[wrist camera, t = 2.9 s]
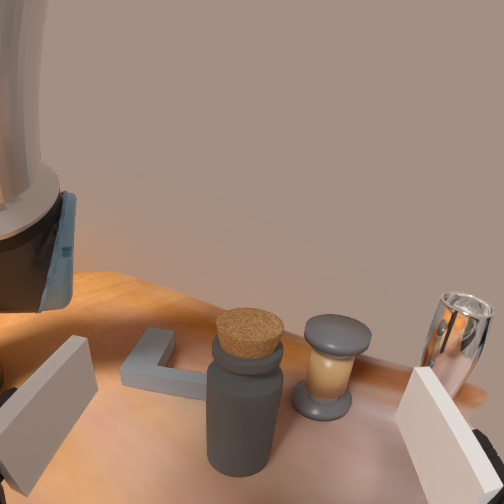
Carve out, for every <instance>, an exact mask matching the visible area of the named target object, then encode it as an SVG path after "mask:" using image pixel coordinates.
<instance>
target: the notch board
mask: <svg viewBox="0 0 504 504" xmlns="http://www.w3.org/2000/svg"><path fill="white" fill-rule="evenodd" d="M175 346H176V344H175V331H174V330H167V329H161V328H154V327H148V328H147V329H146V330H145V332H144V333H143V335H142V336H141V338H140V339H139V341H138V342H137V344H136V345H135V346H134V348H133V349H132V351H131V352H130V354H129V355H128V357H127V358H126V360H125V361H124V363H123V364H122V366H121V367H120V375H121V380H122V385H125V386H129V387H134V388H138V389H143V390H148V391H153V392H158V393H163V394H169V395H174V396H180V397H186V398H193V399H199V400H206V385H207V373H201V372H194V371H187V370H181V369H175V368H169V367H165V366H166V364H167V362H168V360H169V358H170V356H171V354H172V352H173V350H174V348H175Z"/></svg>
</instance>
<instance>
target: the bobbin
mask: <svg viewBox="0 0 504 504" xmlns="http://www.w3.org/2000/svg"><path fill="white" fill-rule="evenodd" d="M304 337H305V339H306V341H307V342H308V343H309V344H310V345H311V346H312V351H311V356H310V360H309V365H308V370H307V374H306V379H305V380H302V381H300V382H299V383H298V384H297V385H296V386H295V387H294V390H293V395H292V403H293V406H294V408H295V409H296V410H297V411H298V412H299V413H300V414H302V415H303V416H305V417H307V418H309V419H312V420H316V421H333V420H336V419H339V418H341V417H343V416H344V415H345V414H346V413H347V412H348V410H349V407H350V404H351V400H352V398H351V394H350V392H349V390H348V389H347V388H346V387H347V383H348V380H349V377H350V373H351V370H352V367H353V363H354V360H355V356H356V355H358V354H361V353H363V352H364V351H366V350H367V349H368V347H369V344H370V340H371V331H370V330H369V328H368V327H366V326H365V325H364V324H363V323H361V322H360V321H358V320H355V319H353V318H350V317H346V316H342V315H334V314H325V315H318V316H315V317H312V318H310V319H309V320H308V321H307V323H306V327H305V332H304Z"/></svg>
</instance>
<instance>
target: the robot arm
mask: <svg viewBox="0 0 504 504" xmlns="http://www.w3.org/2000/svg"><path fill="white" fill-rule="evenodd" d="M47 6H48V0H0V313H41V312H42V311H48V310H57V309H62V308H65V307H66V306H67V305H68V304H69V303H70V301H71V299H72V295H73V249H74V229H75V213H76V201H77V198H76V196H75V194H73V193H68V192H67V191H63V192H61V193H60V187H59V180H58V175H57V174H56V172H55V170H54V169H53V168H52V167H51V166H49V165H48V164H46V163H44V162H43V161H41V152H40V130H39V87H40V67H41V54H42V43H43V34H44V26H45V19H46V12H47ZM2 381H3V372H2V369H1V366H0V388H1V385H2ZM97 391H98V386H97V382H96V378H95V373H94V369H93V364H92V359H91V354H90V349H89V343H88V338H85V337H80V336H76V335H72V336H71V337H70V338H69V339H68V340H67V341H66V342H65V343H63V344H62V345H61V346H60V347H59V348H58V349H57V350H56V351H55V352H54V353H53V354H52V355H51V356H50V357H49V358H48V359H47V360H46V361H45V362H44V363H43V364H42V365H41V366H40V367H39V368H38V369H37V370H36V371H35V372H34V373H33V374H32V375H31V376H30V377H29V378H28V379H27V380H26V381H25V382H24V383H23V384H22V385H21V386H20V388H19V389H17V388H15V387H13V388H11V389H9V390H7V391H6V392H4V393H2V394H1V395H0V504H6V500H5V495H4V490H3V487H2V485H1V482H2V481H3V479H5V481H6V482H7V483H8V485H9V486H10V487H11V488H12V489H13V490H15V491H17V492H19V493H20V494H22V495H24V496H26V497H28V496H29V494H30V492H31V491H32V489H33V488H34V486H35V484H36V483H37V481H38V480H39V478H40V476H41V475H42V473H43V472H44V470H45V469H46V467H47V465H48V464H49V462H50V461H51V459H52V458H53V456H54V455H55V453H56V452H57V450H58V449H59V447H60V445H61V444H62V442H63V441H64V439H65V438H66V436H67V435H68V433H69V432H70V430H71V429H72V427H73V426H74V424H75V423H76V422H77V420H78V419H79V417H80V416H81V414H82V413H83V411H84V410H85V408H86V407H87V405H88V404H89V402H90V401H91V400H92V398H93V397H94V395H95V394H96V392H97ZM394 418H395V420H396V422H397V425H398V427H399V429H400V432H401V434H402V437H403V439H404V442H405V444H406V447H407V449H408V452H409V454H410V457H411V459H412V462H413V464H414V467H415V470H416V472H417V475H418V477H419V480H420V483H421V485H422V488H423V491H424V493H425V496H426V499H427V502H428V504H504V464H503V462H502V461H501V459H500V457H499V456H497V452H496V451H495V449H493V446H492V444H491V443H490V441H489V440H488V438H487V437H486V436H485V435H484V434H483V433H482V432H480V431H479V430H478V429H475V430H471V429H470V427H469V426H468V424H467V422H466V421H465V419H464V418H463V416H462V415H461V413H460V411H459V410H458V408H457V407H456V405H455V404H454V402H453V401H452V399H451V398H450V396H449V394H448V393H447V391H446V390H445V388H444V387H443V385H442V384H441V382H440V381H439V380H438V378H437V377H436V375H435V374H434V372H433V371H432V369H431V368H430V367H414V369H413V372H412V375H411V377H410V380H409V383H408V385H407V388H406V390H405V393H404V395H403V398H402V400H401V402H400V405H399V407H398V409H397V412H396V414H395V416H394Z"/></svg>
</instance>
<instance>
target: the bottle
mask: <svg viewBox="0 0 504 504" xmlns="http://www.w3.org/2000/svg"><path fill="white" fill-rule="evenodd" d="M216 328H217V333H218V335H217V336H216V337H215V338H214V340H213V343H212V355H213V358H214V361H213V362H212V363H211V364H210V365H209V367H208V370H207V385H206V427H207V456H208V459H209V461H210V463H211V465H212V466H213V467H214V468H215V469H216V470H218V471H219V472H221V473H223V474H226V475H229V476H233V477H245V476H250V475H253V474H255V473H257V472H259V471H260V470H261V469H263V467H264V466H265V465H266V463H267V461H268V457H269V453H270V448H271V444H272V439H273V434H274V429H275V424H276V419H277V413H278V408H279V402H280V397H281V391H282V384H283V373H282V371H281V369H280V367H279V366H278V365H279V364H280V362H281V360H282V356H283V345H282V343H281V341H280V337H281V335H282V332H283V329H284V325H283V322H282V321H281V320H280V319H279V318H278V317H277V316H276V315H273V314H272V313H270V312H267V311H264V310H260V309H253V308H236V309H231V310H227V311H225V312H223V313H221V314H220V315H219V316H218V317H217V319H216Z"/></svg>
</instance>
